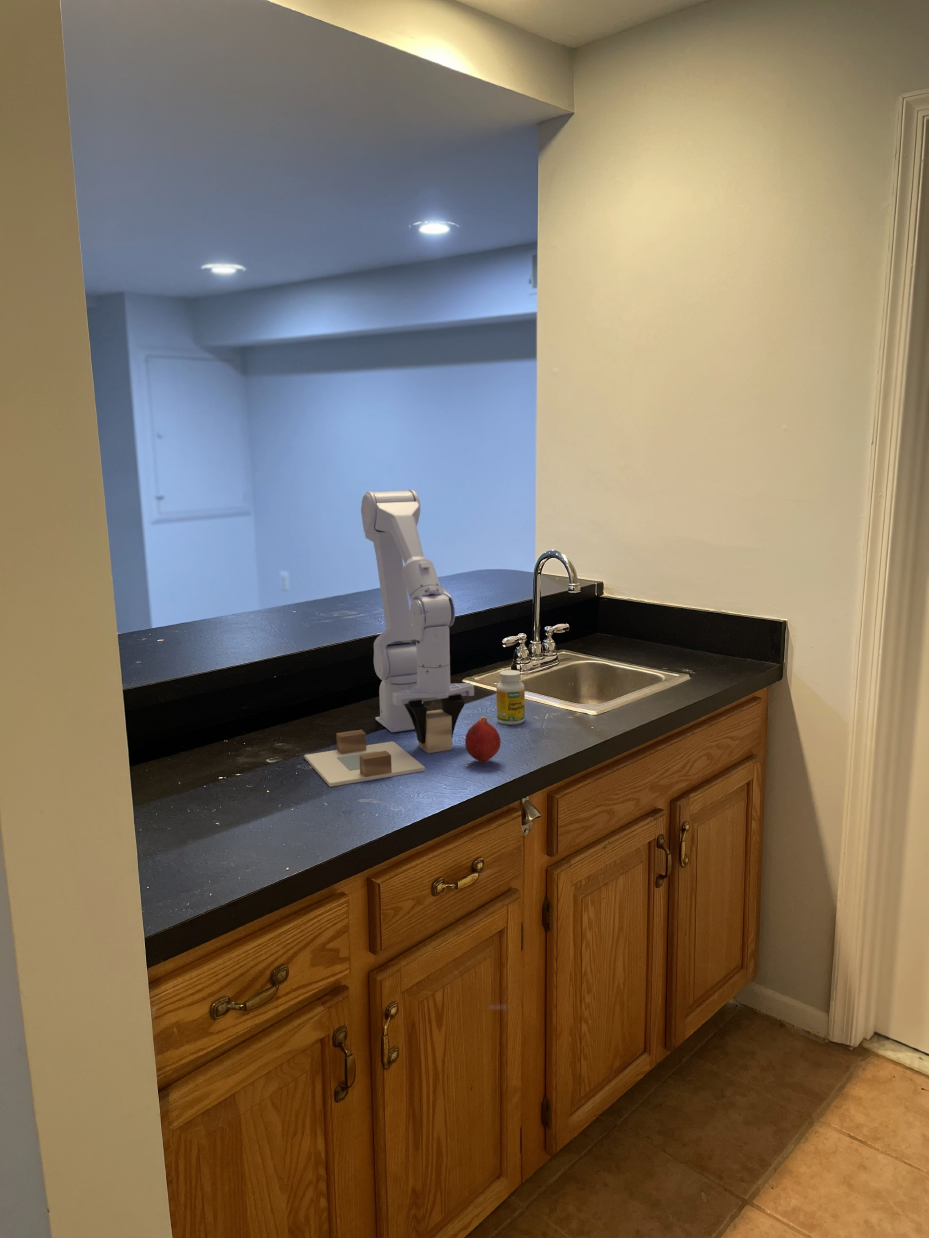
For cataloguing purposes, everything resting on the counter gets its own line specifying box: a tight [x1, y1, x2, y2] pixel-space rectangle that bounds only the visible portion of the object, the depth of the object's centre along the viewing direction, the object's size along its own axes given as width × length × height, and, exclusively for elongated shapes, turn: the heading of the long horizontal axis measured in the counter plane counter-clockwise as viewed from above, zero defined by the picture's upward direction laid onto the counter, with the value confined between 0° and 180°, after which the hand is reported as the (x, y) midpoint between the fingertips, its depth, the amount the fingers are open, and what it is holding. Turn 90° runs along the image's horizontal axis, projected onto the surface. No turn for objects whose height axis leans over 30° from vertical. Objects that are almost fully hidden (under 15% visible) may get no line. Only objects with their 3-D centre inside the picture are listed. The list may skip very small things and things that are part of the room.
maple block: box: [417, 709, 453, 754], centre depth 163 cm, size 4×4×6 cm
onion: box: [464, 716, 502, 764], centre depth 155 cm, size 6×6×8 cm
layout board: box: [304, 740, 426, 788], centre depth 156 cm, size 15×16×1 cm
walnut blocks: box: [335, 729, 392, 777], centre depth 156 cm, size 15×4×3 cm, turn 25°
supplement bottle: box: [496, 669, 526, 726], centre depth 178 cm, size 5×5×10 cm
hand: (434, 739), depth 164 cm, fingers closed on maple block, 4 cm apart
